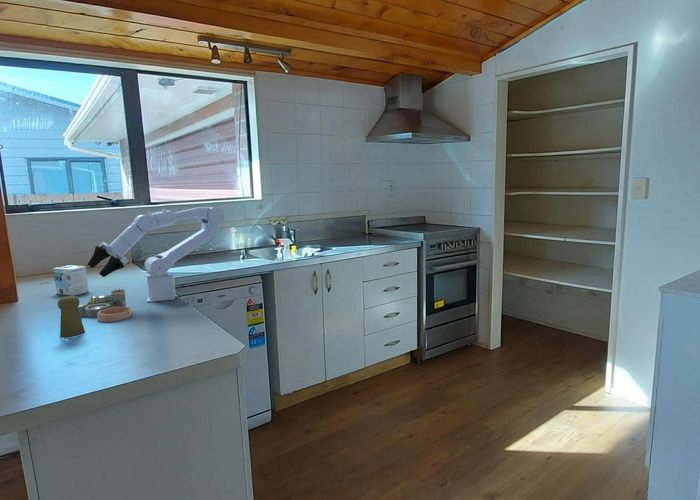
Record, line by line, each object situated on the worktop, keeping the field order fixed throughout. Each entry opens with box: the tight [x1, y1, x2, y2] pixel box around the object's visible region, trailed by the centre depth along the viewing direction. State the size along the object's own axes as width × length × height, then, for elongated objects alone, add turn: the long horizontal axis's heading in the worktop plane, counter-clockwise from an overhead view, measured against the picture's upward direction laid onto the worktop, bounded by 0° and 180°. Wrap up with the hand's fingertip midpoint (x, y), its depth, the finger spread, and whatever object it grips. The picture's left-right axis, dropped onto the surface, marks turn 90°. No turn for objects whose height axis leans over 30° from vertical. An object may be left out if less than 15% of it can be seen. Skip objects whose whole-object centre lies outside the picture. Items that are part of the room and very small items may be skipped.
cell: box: [110, 287, 127, 307], centre depth 146 cm, size 4×4×7 cm
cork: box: [57, 295, 86, 339], centre depth 122 cm, size 6×6×11 cm
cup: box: [97, 306, 133, 323], centre depth 137 cm, size 9×9×2 cm
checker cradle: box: [78, 303, 111, 318], centre depth 141 cm, size 9×7×3 cm
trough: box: [83, 300, 113, 308], centre depth 150 cm, size 10×6×2 cm, turn 110°
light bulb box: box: [52, 264, 90, 296], centre depth 172 cm, size 11×7×11 cm, turn 68°
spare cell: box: [89, 294, 112, 304], centre depth 150 cm, size 7×4×4 cm, turn 110°
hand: (95, 270), depth 145 cm, fingers open, 7 cm apart
